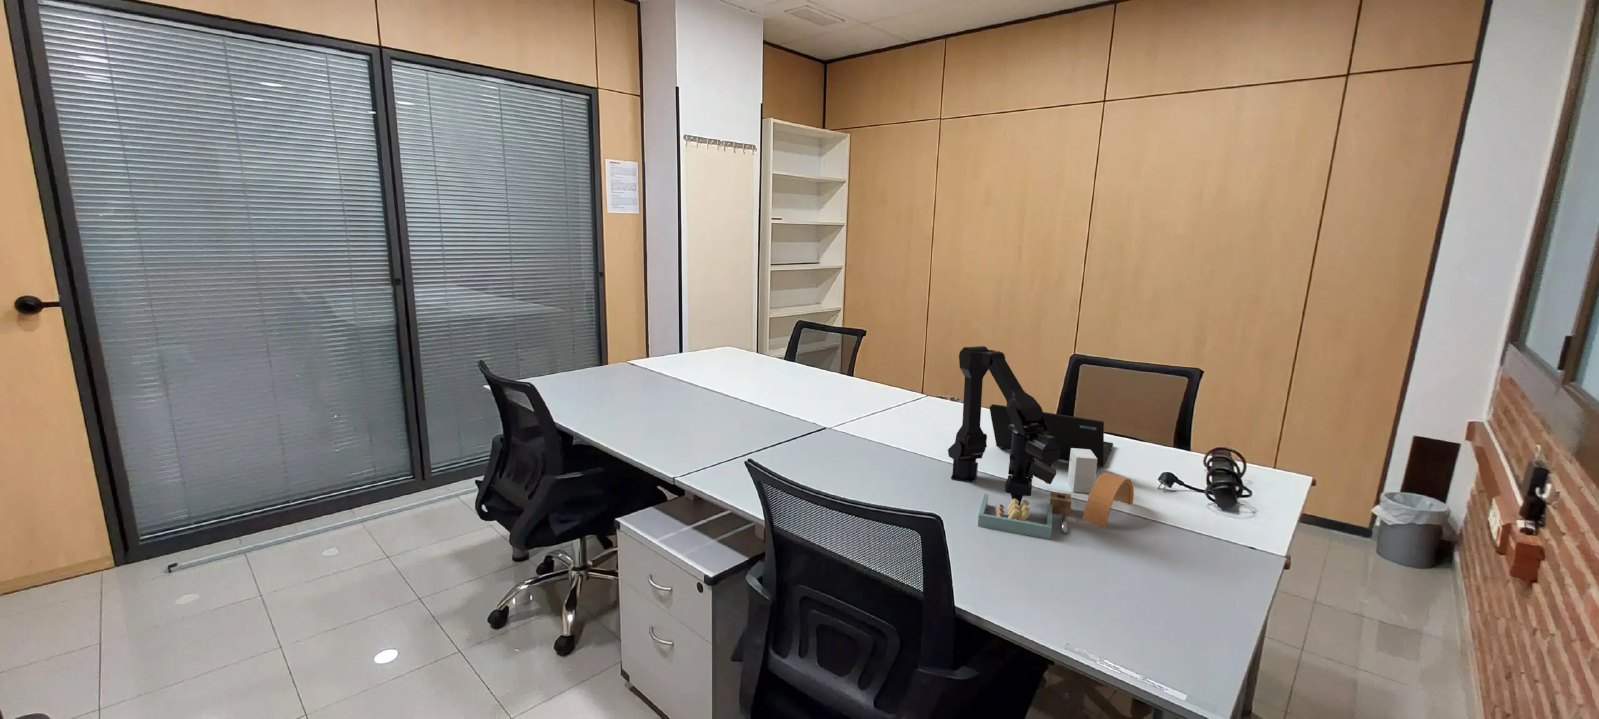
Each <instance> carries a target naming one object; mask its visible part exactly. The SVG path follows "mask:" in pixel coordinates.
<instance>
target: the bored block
mask: <svg viewBox="0 0 1599 719" xmlns="http://www.w3.org/2000/svg"><path fill="white" fill-rule="evenodd" d="M1049 504H1050V505H1052V515H1054V514H1056V515H1060V516H1062V515H1065V516H1066V517H1071V510H1072V494H1070V493H1063V492H1060V491H1059V492H1058V491H1050V498H1049Z"/></svg>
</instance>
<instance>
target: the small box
mask: <svg viewBox="0 0 1599 719" xmlns="http://www.w3.org/2000/svg"><path fill="white" fill-rule="evenodd" d="M1097 460H1098V459H1097V458H1096V456H1095V455H1094V454H1093V452H1092V451H1091V450H1090V449H1078V448H1071V451H1070V461H1068V462H1069V463H1068V471H1067V472H1068V473H1067V483H1068V486H1069V487H1070V488H1071V490H1072V492H1073V493H1083V494H1090V491H1091V489H1092V487H1093V485H1094V483H1095V482H1096V478H1097V477H1096V476H1097V475H1096V474H1097V468H1098V467H1097Z"/></svg>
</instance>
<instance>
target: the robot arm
mask: <svg viewBox="0 0 1599 719" xmlns="http://www.w3.org/2000/svg"><path fill="white" fill-rule="evenodd" d="M958 361H959V369H960V370H961V372H962V374H963V376H964V384H963V385H964V386H963V387H964V388H963V405H962V406H963V408H962V424H961V427H959V430H958V431H957V433H956V436H955V440H954V443H953V444H952V445H950V447H949V448H948V449H947V453H948V457H949V458H950V459H952V460H953V462H952V463H953V464H952V474H951V478H950V479H952V480H957V481H963V482H969V483H974V481H975V479H977V477H978V468H979V462H977V460H978V459H982V458H983V455H984V454H985V452H986V448H988V445H987V439H988V435H987V433H984V431H983V430H982V428H981V419H982V418H981V417H982V416H981V415H982V402H983V401H982V398H983V380H984V377H985V375H986V374H987V372H990V374H991V376H992V377H993V379H994V382H995V383H996V385H997V386H998V388H999V389H1000V392H1001V393H1002V395H1003V397H1004V399H1005V401H1006V406H1007V407H1006V411H1007V413H1008V415H1009V418H1010V420H1011V422H1012V424H1010V425H1008V426H1007V428H1008V429H1010V430H1012V442H1011V450H1010V452H1009V464H1008V470H1007V471H1008V474H1007V475H1008V476H1007V479H1005V484H1004V492H1005V493H1006V494H1010V497H1011V501H1012V500H1013V499H1014V498H1015V499H1017V500H1018V501H1019V503H1018V505H1019V506H1020V505H1021V503H1022V502H1023V497H1031V496H1032V489H1033V479H1034V477H1035V478H1037V479H1039V480H1041V481H1043V482H1045V484H1048V485H1051V484H1052V483H1053V481H1054V480H1055V477H1056V476H1057V468H1056V466H1055V465H1054V464H1055V463H1056V462H1058V460H1060V459H1059V457H1060V454H1061V450H1060V446H1059V445H1058V444H1057V443H1056V442H1055V437H1053V436H1049V435H1047V434H1045V433H1049V432H1050V431H1049V428H1048V424H1047V422H1046V419H1045V417H1044V414H1043V412H1044V410H1043V408H1042V406H1041V405H1040V404H1039V402H1038V401H1037V400H1036V399H1035V398H1034V397H1033V396H1032V395H1030V394H1029V393H1027V392H1026V391H1025V390H1024V389H1023V387H1022V385H1021V384H1020V382H1019V381H1018V379H1017V377H1016V376H1015V374H1014V372H1013V370H1012V369H1011V367H1010V366H1009V364H1008V362H1007V361H1006V355H1005V353H1004V352H1002V351H1000V350H994V349H989V348H988V347H986V346H985V345H979V346H965V347H963V348H962V349H960V351H959V354H958ZM1036 424H1038V425H1039V426H1034V427H1026V426H1028V425H1036Z"/></svg>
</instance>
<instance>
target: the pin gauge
mask: <svg viewBox="0 0 1599 719" xmlns="http://www.w3.org/2000/svg"><path fill="white" fill-rule="evenodd" d="M1060 532H1061V534H1062V535H1066V534H1068V516H1065V515H1060Z"/></svg>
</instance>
